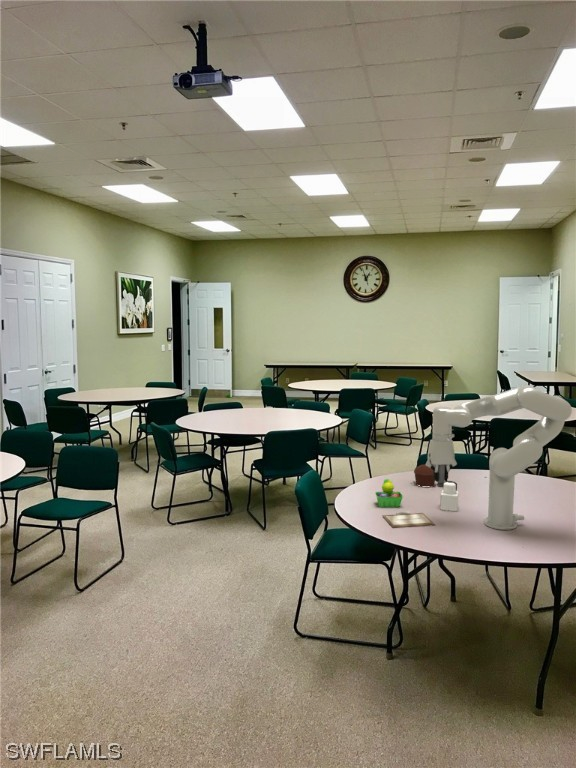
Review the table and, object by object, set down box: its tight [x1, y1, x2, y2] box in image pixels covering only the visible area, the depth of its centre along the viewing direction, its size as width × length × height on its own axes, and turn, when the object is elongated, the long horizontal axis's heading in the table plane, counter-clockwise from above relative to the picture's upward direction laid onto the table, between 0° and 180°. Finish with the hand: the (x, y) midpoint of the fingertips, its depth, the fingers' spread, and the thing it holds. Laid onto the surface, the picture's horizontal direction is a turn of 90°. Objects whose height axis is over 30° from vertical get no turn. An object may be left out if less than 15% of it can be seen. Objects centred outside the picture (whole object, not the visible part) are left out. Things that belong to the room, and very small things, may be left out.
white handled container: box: [440, 480, 459, 512], centre depth 250 cm, size 7×7×12 cm
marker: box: [436, 465, 445, 488], centre depth 234 cm, size 3×3×12 cm
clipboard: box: [382, 511, 436, 529], centre depth 235 cm, size 18×13×2 cm
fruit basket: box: [375, 478, 404, 508], centre depth 255 cm, size 11×9×11 cm
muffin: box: [413, 464, 436, 487], centre depth 285 cm, size 12×11×10 cm
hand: (440, 480), depth 234 cm, fingers closed on marker, 3 cm apart
